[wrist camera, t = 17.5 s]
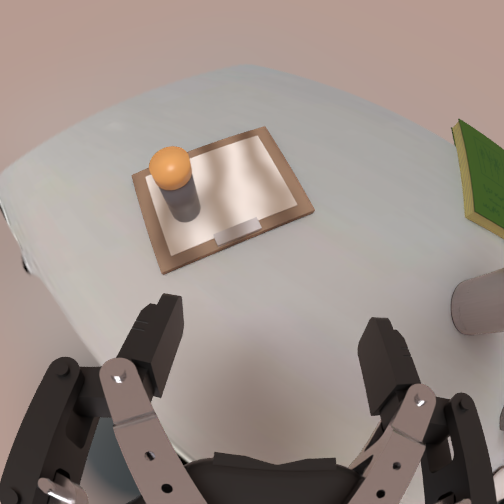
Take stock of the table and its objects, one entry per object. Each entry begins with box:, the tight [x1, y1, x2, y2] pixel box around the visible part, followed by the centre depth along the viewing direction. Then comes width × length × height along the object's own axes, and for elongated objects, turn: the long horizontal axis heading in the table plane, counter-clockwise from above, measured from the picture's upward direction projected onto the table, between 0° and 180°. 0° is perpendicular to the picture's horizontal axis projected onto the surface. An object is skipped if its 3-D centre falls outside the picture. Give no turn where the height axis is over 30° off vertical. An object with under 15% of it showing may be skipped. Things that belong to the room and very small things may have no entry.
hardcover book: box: [451, 119, 504, 239], centre depth 42 cm, size 25×19×4 cm
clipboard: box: [132, 126, 315, 275], centre depth 38 cm, size 22×16×2 cm
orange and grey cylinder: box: [149, 146, 201, 222], centre depth 32 cm, size 4×4×11 cm
